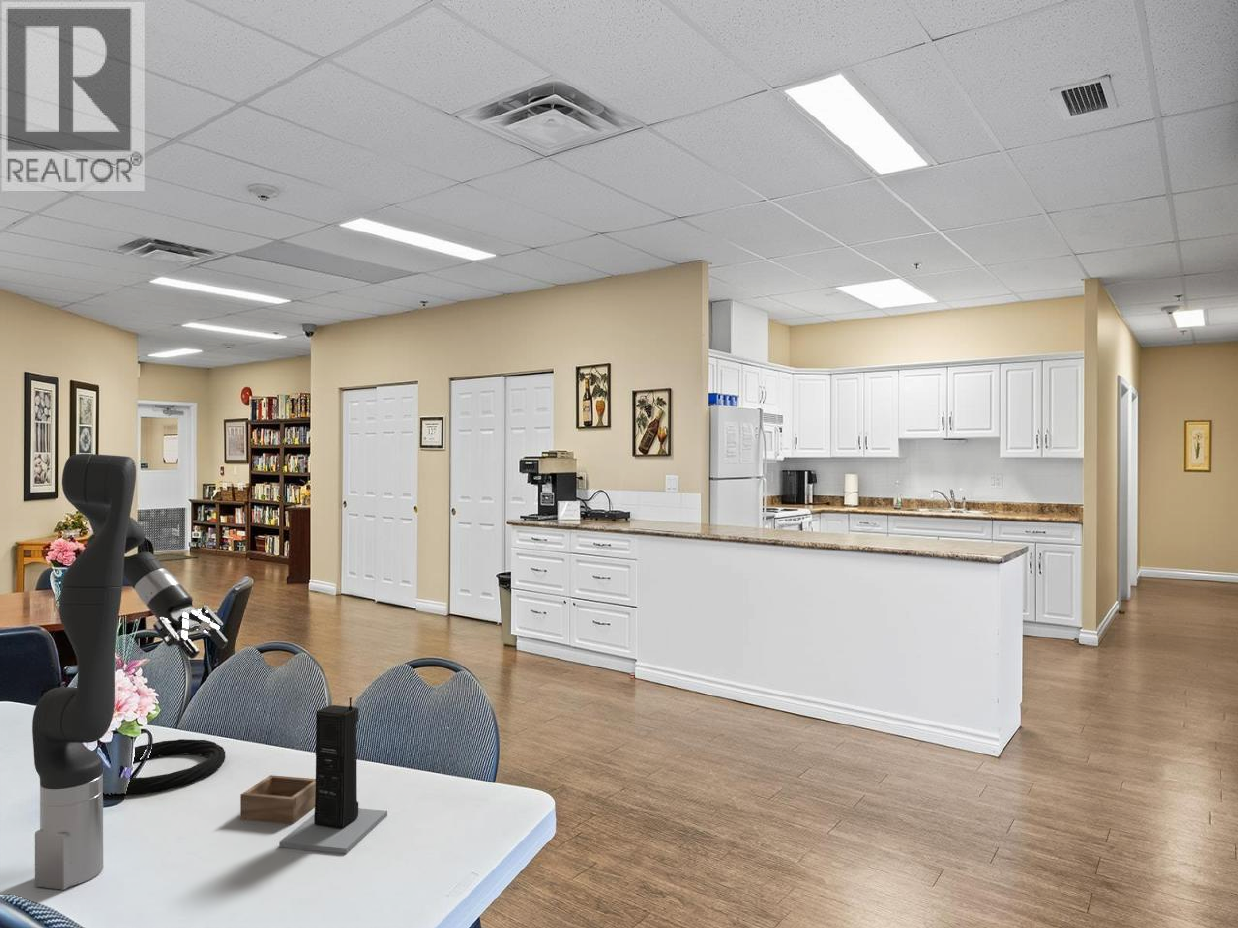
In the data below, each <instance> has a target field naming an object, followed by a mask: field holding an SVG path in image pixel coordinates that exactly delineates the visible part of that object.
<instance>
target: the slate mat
mask: <svg viewBox="0 0 1238 928" xmlns="http://www.w3.org/2000/svg"><path fill="white" fill-rule="evenodd" d="M314 815H315V813H314V814H312V816H311V815H310V817H309V818H307V819H305V821H303V822H302V823H301V824H300V825H299V826H297V827H296V828H295V829H293V830H292V831H291V832H290V833H288V834H287V835H286V836H285V837H283V838H282V839H280V840H279V846H278V847H279V848H285V849H294V850H298V849H299V850H304V851H305V850H306V851H315V852H325V853H335V854H344V855H345V854H346V855H347V854H349V852H350V851H352V850H353V849H354V848H355V847H356V846H357V845H358V844H360V842H361V841H362V840H363V839H364V838H366V836H367V835H369V833H371V832H372V831H373V830H374V829H375V828H376V827H377V826H378V825H379V824H380V823H381V822H382V821H384V819H385V818H387V816H388V810H384V809H383V810H381V809H380V810H379V809H371V808H370V809H368V808H362V807H358V817H357V818H356V819H355V820H354V821H353V822H352V823H350V824H349V825H348V826H346V827H345V828H343V829H339V828H333V827H328V826H322V825H316V824H315V823H314Z"/></svg>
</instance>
